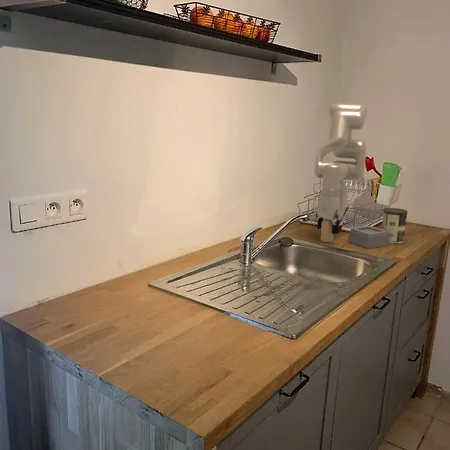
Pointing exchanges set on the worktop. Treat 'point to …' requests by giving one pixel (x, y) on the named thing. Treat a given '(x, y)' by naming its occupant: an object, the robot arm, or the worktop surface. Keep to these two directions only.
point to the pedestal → (368, 237)
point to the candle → (327, 231)
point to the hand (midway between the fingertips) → (327, 231)
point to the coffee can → (394, 224)
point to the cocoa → (341, 222)
